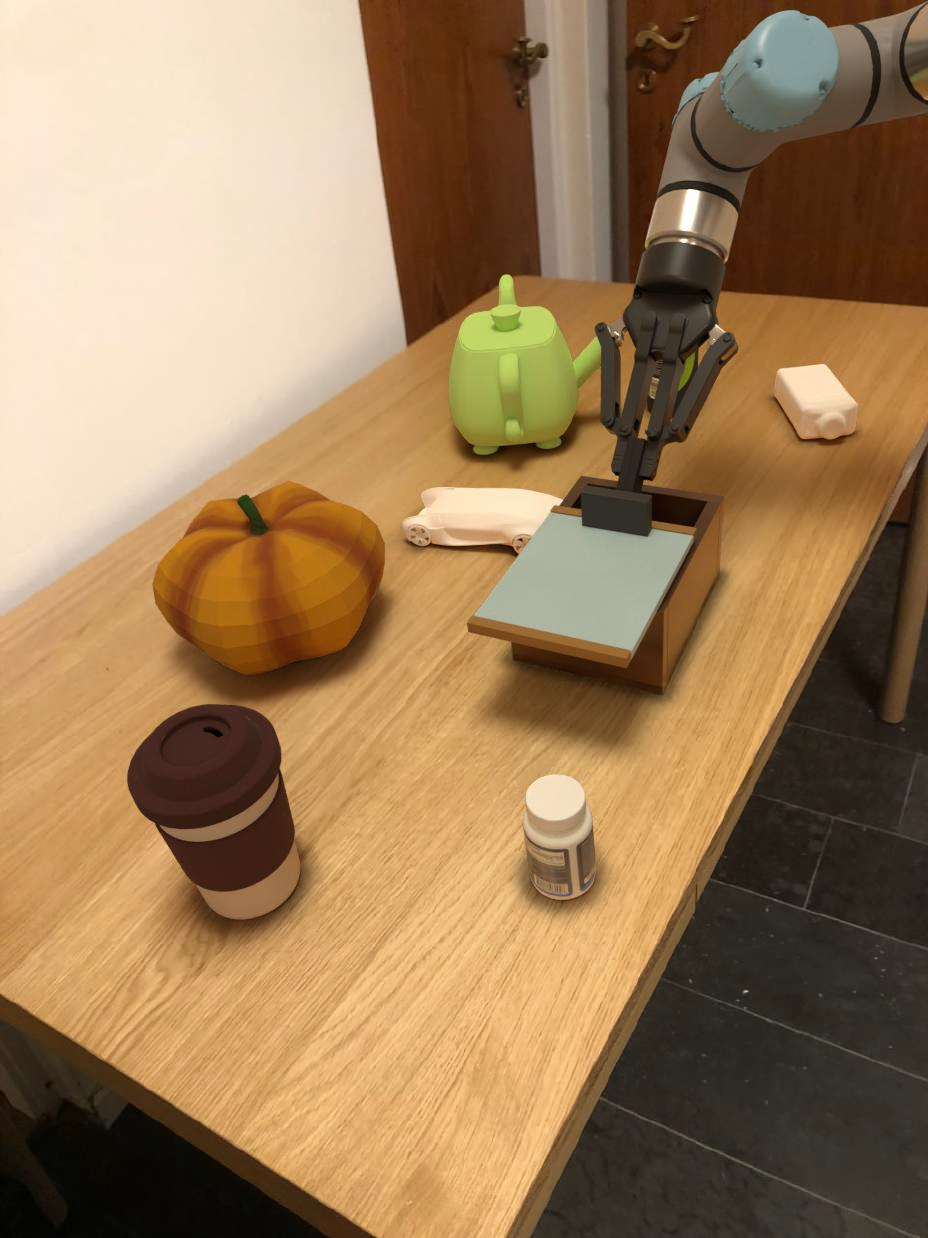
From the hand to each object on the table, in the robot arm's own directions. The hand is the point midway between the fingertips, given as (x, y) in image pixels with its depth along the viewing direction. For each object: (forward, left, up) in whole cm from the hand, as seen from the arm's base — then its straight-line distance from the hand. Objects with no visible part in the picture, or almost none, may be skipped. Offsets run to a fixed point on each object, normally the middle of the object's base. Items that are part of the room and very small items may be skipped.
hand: (623, 512), depth 85 cm
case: (0, +2, -10) cm, 11 cm away
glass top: (0, +9, -1) cm, 9 cm away
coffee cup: (+15, +40, -11) cm, 44 cm away
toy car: (+18, -8, -11) cm, 22 cm away
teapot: (+23, -32, -11) cm, 41 cm away
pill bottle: (-6, +31, -11) cm, 33 cm away
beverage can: (+8, -40, -11) cm, 43 cm away
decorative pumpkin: (+30, +14, -11) cm, 35 cm away
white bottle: (-9, -41, -11) cm, 44 cm away
